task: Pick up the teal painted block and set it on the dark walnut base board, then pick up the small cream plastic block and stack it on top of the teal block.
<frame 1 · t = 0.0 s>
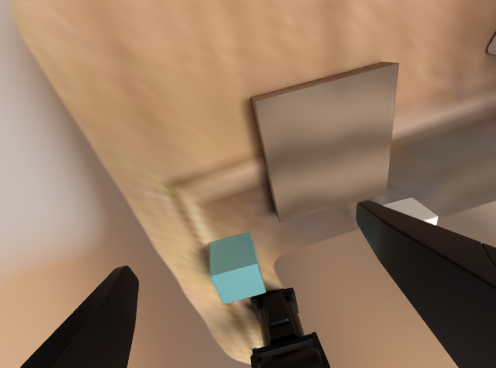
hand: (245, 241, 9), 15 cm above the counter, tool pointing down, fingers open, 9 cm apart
cream block: (394, 213, 30), on the counter
teal block: (235, 250, 29), on the counter
walnut base: (321, 147, 24), on the counter
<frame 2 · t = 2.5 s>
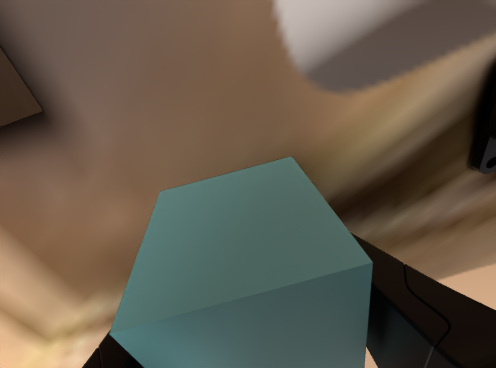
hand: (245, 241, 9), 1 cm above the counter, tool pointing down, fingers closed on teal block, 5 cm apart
teal block: (241, 224, 10), on the counter, touching gripper
when the fingers open (4 cm above the counter, at t = 6.3 s): teal block drops 1 cm, resting on walnut base.
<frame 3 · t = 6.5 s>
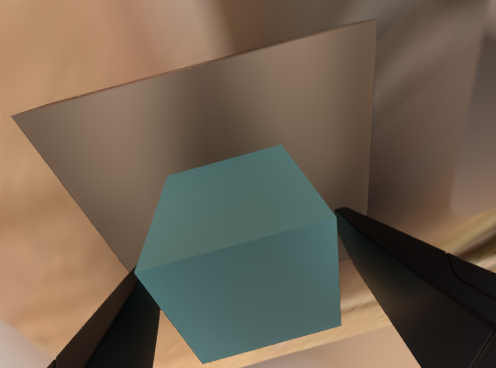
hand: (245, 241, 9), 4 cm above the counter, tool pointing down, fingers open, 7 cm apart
teal block: (239, 206, 11), point 2 cm above the counter, touching walnut base
walnut base: (234, 183, 13), on the counter
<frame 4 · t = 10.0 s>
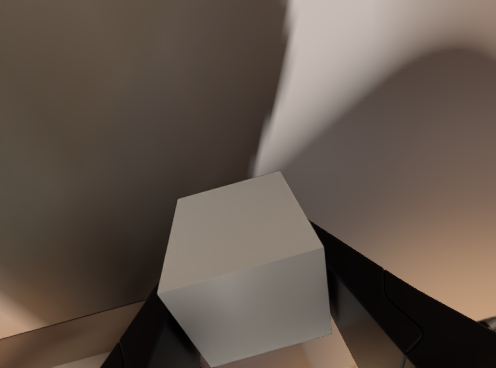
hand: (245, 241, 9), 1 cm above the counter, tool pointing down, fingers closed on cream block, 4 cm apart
cream block: (241, 223, 10), on the counter, touching gripper
when the fingers open (9 cm above the counter, at t = 12.7 s): cream block drops 1 cm, resting on teal block.
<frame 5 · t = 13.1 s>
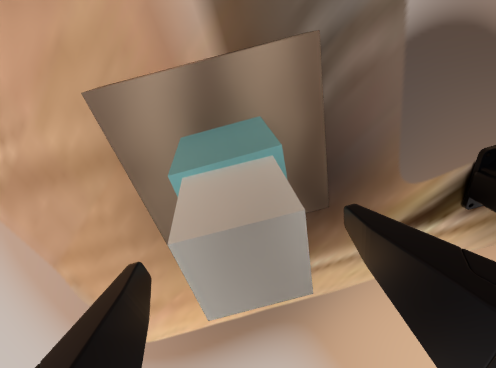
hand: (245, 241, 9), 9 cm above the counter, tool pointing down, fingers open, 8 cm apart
cream block: (237, 203, 11), point 7 cm above the counter, touching teal block
teal block: (231, 162, 15), point 2 cm above the counter, touching cream block, walnut base
walnut base: (228, 150, 17), on the counter
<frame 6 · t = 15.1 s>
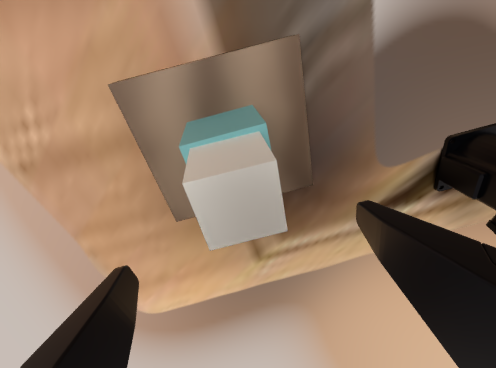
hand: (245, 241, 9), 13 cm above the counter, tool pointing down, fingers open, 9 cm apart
cream block: (233, 170, 14), point 7 cm above the counter, touching teal block
teal block: (228, 144, 18), point 2 cm above the counter, touching cream block, walnut base
walnut base: (226, 135, 20), on the counter
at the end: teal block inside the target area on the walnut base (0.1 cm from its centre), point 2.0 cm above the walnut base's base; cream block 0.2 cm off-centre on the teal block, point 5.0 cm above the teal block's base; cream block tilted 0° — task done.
